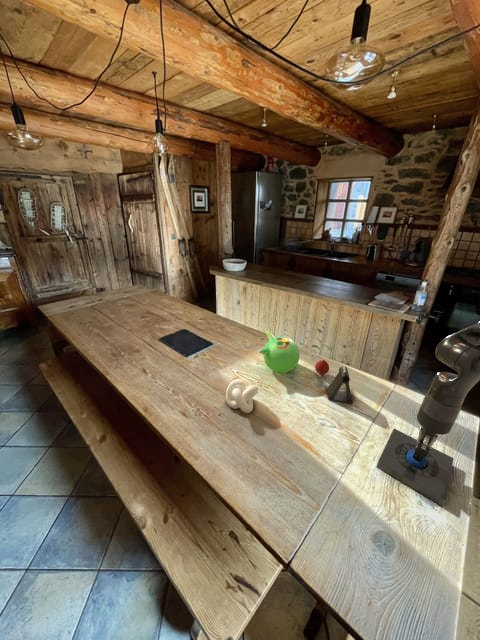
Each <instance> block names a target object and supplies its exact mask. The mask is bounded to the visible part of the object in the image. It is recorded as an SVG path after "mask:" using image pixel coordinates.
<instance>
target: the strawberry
mask: <svg viewBox="0 0 480 640" xmlns="http://www.w3.org/2000/svg"><path fill="white" fill-rule="evenodd" d="M314 369H315V371H316V373H317V374H319V375H320V376H323V375H326V374H328V372H329V371H330V365H329V363H328V362H327V361H326V359H320V360H318V361H317V362H316V363H315V365H314Z"/></svg>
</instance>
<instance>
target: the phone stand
mask: <svg viewBox="0 0 480 640" xmlns="http://www.w3.org/2000/svg"><path fill="white" fill-rule="evenodd" d="M344 369H345V371H344ZM350 381H351V377H350V374H349V370H348V367H346V366H340V367H339V369H338V373H337V374H336V376H335V377H334V378H333V380H332V381H331V383H330V384H329V385H328V387H327V388H326V392H327V393H326V394H327V400H328V401H334V402H341V403H347V404H354V401H353V397H352V391H351V388H350ZM343 384H344V390H340V389H341V388H342V386H343Z"/></svg>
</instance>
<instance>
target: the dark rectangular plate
mask: <svg viewBox="0 0 480 640" xmlns="http://www.w3.org/2000/svg"><path fill="white" fill-rule="evenodd" d="M417 444H418V443H417V438H415V437H412V436H410V435H408V434H407V433H404V432H402V431H400V430H398V429H396V428H393V429H392V431H391V434H390V435H389V438H388V440H387V442H386V444H385V445H384V448H383V450H382V452H381V454H380V456H379V459H378V460H377V463H376V466H375V467H376V468H377V469H379V470H381V471H383V472H385V473H386V474H388V475H389V476H391V477H392V478H394V479H396V480H398V481H399V482H400V483H403V484H404V485H406V486H408V487H409V488H411V489H413V490H414V491H416V492H417V493H419V494H421V495H423V496H424V497H426V498H428V499H429V500H430V501H433V502H434V503H436V504H437V505H439V506H441V507H443V506H444V505H445V503H446V501H447V495H448V492H449V485H450V480H451V475H452V470H453V465H454V457H452V456H450V455H448V454H446V453H444V452H442V451H440V450H438V449H436V448H435V447H432V448H431V449H430V451H429V452H428V454H427V456H426V459H427V463H426V465H425V468H424V469H419V468H416V467H414V466H412V465H411V464H410V463H409V462H408V461H407V460H406V455H407V453H408V451H409V450H415V448H416V446H417Z"/></svg>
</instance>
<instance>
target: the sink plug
mask: <svg viewBox="0 0 480 640" xmlns="http://www.w3.org/2000/svg"><path fill="white" fill-rule="evenodd" d="M414 452H415V450H409V451H408V453H407V455H406V456H405V458H406V460H407V461H408V462H409V463H410V464H411V465H412V466H414V467H416V468H419V469H425V465H426V463H427V459H426V457H423V460H422V462H419V461H417V460H415V459H414V458H413V454H414Z"/></svg>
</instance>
